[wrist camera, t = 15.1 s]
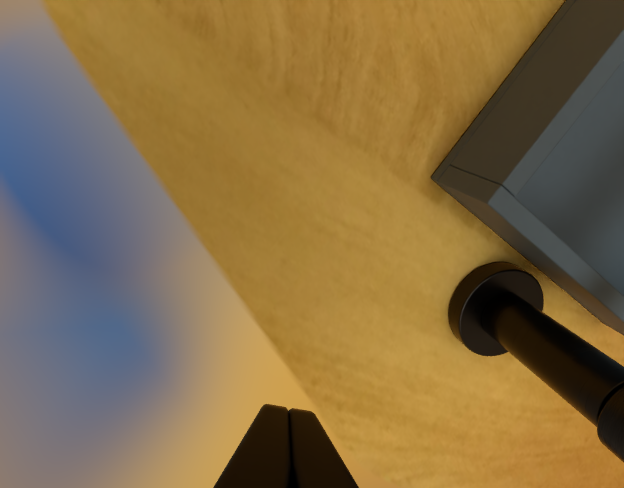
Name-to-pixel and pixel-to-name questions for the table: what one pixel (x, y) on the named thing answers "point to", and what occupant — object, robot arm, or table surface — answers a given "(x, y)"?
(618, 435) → the spout
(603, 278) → the sink
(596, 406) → the tap column
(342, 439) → the table surface
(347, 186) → the table surface
